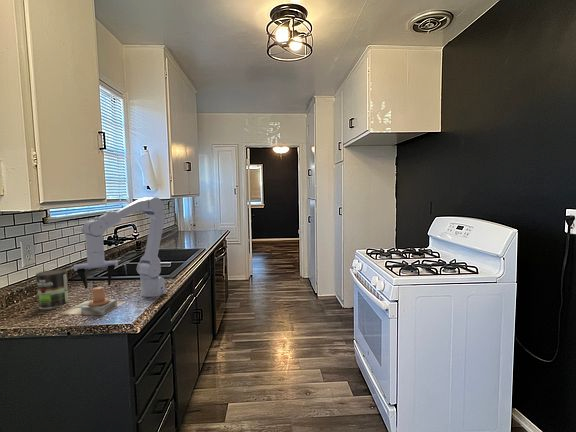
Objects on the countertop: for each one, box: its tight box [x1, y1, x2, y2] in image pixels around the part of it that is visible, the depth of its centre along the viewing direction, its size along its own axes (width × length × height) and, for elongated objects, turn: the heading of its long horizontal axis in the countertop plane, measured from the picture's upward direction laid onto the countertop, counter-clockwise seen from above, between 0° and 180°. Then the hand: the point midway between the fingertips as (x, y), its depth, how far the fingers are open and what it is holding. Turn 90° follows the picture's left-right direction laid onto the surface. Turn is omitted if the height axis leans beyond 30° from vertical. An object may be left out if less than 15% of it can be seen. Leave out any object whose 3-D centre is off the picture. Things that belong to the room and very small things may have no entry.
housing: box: [59, 299, 126, 316], centre depth 127 cm, size 18×14×4 cm
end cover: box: [89, 286, 110, 306], centre depth 124 cm, size 7×7×8 cm
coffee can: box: [35, 268, 69, 310], centre depth 134 cm, size 10×10×14 cm
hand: (98, 286), depth 123 cm, fingers open, 7 cm apart
